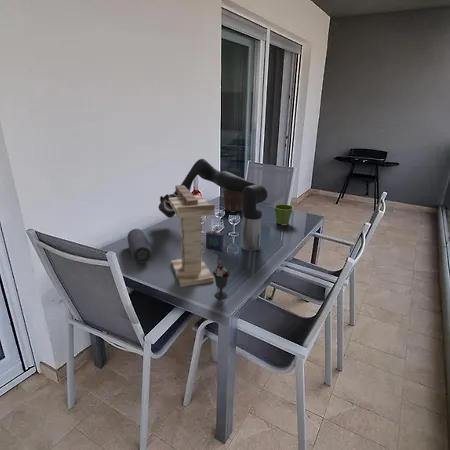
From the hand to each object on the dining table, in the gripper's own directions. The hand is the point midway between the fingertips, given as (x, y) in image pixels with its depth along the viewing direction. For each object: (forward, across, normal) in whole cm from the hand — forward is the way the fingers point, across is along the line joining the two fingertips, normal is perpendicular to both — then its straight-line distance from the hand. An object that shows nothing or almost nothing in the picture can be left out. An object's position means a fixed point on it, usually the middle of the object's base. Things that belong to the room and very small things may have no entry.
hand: (176, 195), depth 154 cm
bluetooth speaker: (-10, -20, +26) cm, 34 cm away
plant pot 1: (-54, +49, +1) cm, 73 cm away
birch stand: (+11, 0, +38) cm, 39 cm away
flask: (-6, +17, +28) cm, 34 cm away
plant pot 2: (-25, +69, +17) cm, 75 cm away
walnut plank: (+20, 0, +6) cm, 21 cm away
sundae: (+29, +7, +48) cm, 57 cm away
